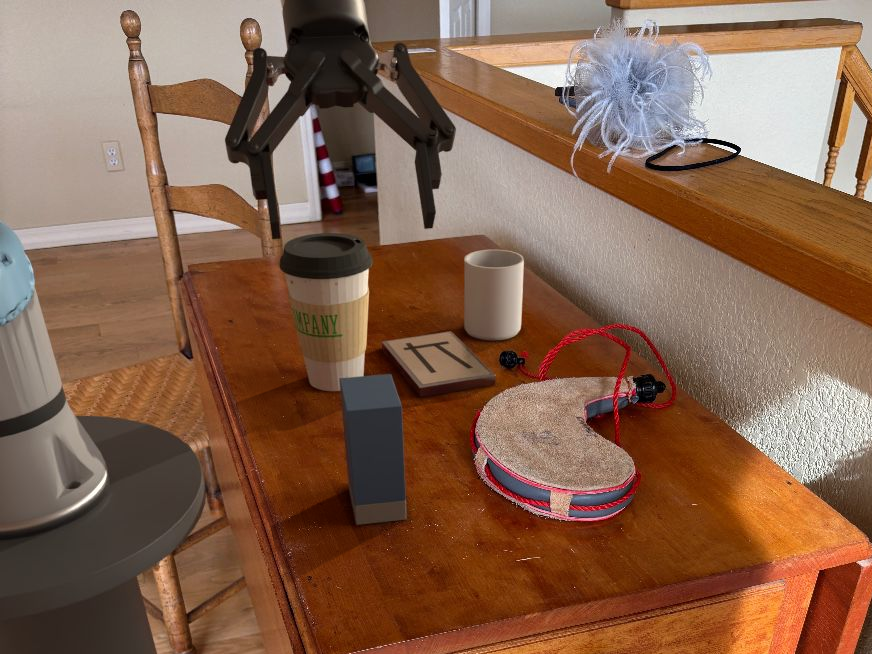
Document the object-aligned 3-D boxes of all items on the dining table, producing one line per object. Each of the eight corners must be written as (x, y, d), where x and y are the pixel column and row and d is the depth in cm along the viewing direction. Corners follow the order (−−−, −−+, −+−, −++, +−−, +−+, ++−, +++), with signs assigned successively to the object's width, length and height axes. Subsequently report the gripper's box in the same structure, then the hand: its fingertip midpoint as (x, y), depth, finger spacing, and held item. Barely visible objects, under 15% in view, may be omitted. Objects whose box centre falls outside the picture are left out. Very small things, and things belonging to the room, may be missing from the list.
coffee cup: (284, 369, 108) (268, 237, 99) (365, 357, 111) (356, 227, 102) (304, 404, 101) (288, 264, 92) (390, 389, 104) (383, 253, 95)
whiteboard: (420, 397, 102) (419, 386, 101) (382, 350, 113) (381, 340, 112) (495, 384, 105) (495, 373, 104) (451, 340, 115) (451, 329, 114)
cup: (476, 344, 114) (477, 271, 108) (448, 317, 121) (447, 247, 116) (530, 336, 116) (533, 263, 110) (498, 309, 123) (500, 240, 118)
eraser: (356, 525, 82) (346, 411, 75) (348, 488, 87) (339, 377, 80) (406, 520, 82) (401, 406, 76) (396, 483, 87) (391, 373, 81)
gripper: (453, 31, 89) (485, 238, 87) (188, 41, 86) (214, 257, 83) (464, -31, 82) (499, 192, 79) (175, -23, 78) (202, 211, 76)
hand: (353, 226), depth 81 cm, fingers open, 13 cm apart
